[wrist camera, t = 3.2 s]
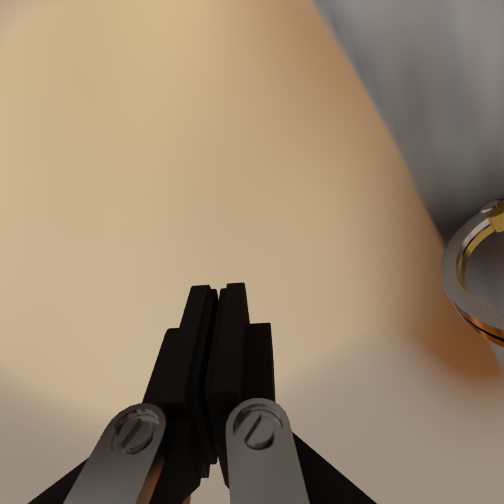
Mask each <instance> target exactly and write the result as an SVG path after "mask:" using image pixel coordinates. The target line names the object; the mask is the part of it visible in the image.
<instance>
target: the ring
mask: <svg viewBox="0 0 504 504" xmlns="http://www.w3.org/2000/svg"><path fill="white" fill-rule="evenodd" d="M479 211H480V213H478V214H477V215H475V216H474V217H473V218H471V219H470V220H469V221H467V222H466V223H465V224H464V225H463V226H462V227H461V228H460V229H459V230H458V231H457V232H456V233H455V234H454V236H453V237H452V238H451V240H450V241H449V243H448V245H447V247H446V249H445V251H444V254H443V257H442V262H441V279H442V283H443V286H444V289H445V290H446V293H447V294H448V296H449V298H450V300H451V302H452V303H453V305H454V306H455V308H456V309H457V311H458V312H459V314H460V315H461V317H462V318H463V319H464V320H465V322H466V323H467V324H468V325H469V326H470V327H471V328H473V329H474V330H475V331H476V332H477V333H479V334H480V335H481V336H483V337H484V338H486V339H488V340H489V341H491V342H493V343H495V344H497V345H499V346H501V347H503V348H504V314H501V313H498V312H496V311H494V310H491V309H489V308H487V307H486V306H484V305H482V304H480V303H479V302H477V301H476V300H475V299H473V298H472V297H471V295H470V294H469V293H468V290H467V287H466V284H465V267H466V263H467V260H468V258H469V256H470V254H471V253H472V251H473V250H474V249H475V247H476V246H477V245H478V244H479V243H480V242H481V241H482V240H483V239H484V238H485V237H487V236H488V235H489V234H491V233H492V232H502V231H504V200H502V201H500V200H494V201H491V202H489V203H487V204H485V205H484V206H482V207H481V208H480V209H479Z"/></svg>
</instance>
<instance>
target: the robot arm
mask: <svg viewBox="0 0 504 504" xmlns="http://www.w3.org/2000/svg"><path fill="white" fill-rule="evenodd" d="M218 458H219V462H220V466H221V470H222V474H223V478H224V482H225V485H226V486H227V487H228V488H229V490H230V504H377V503H375V502H374V501H373V500H372V499H371V498H370V497H368V496H367V495H366V494H365V493H364V492H363V491H361V490H360V489H359V488H358V487H357V486H355V485H354V484H353V483H352V482H351V481H350V480H348V479H347V478H346V477H345V476H344V475H342V474H341V473H340V472H339V471H338V470H337V469H335V468H334V467H333V466H332V465H331V464H329V463H328V462H327V461H326V460H325V459H324V458H322V457H321V456H320V455H319V454H318V453H316V452H315V451H314V450H313V449H312V448H310V447H309V446H308V445H307V444H306V443H305V442H303V441H302V440H301V439H300V438H299V437H298V436H296V435H295V434H294V433H293V432H292V430H291V427H290V422H289V419H288V417H287V414H286V412H285V411H284V410H283V409H282V408H281V406H280V405H279V404H277V403H275V383H274V363H273V347H272V336H271V324H270V323H255V324H250V321H249V313H248V305H247V297H246V290H245V283H230V284H227V287H226V288H224V289H221V290H220V296H219V300H218V294H217V290H216V289H211V287H210V285H199V286H192V287H191V290H190V293H189V296H188V300H187V303H186V307H185V310H184V313H183V317H182V320H181V323H180V327H179V328H170V329H168V330H167V331H166V334H165V336H164V340H163V343H162V345H161V348H160V351H159V355H158V357H157V360H156V363H155V366H154V369H153V372H152V375H151V378H150V381H149V384H148V387H147V390H146V393H145V395H144V398H143V402H142V403H139V404H136V405H132V406H129V407H128V408H126V409H125V410H122V411H121V412H119V413H118V414H117V415H116V416H115V417H114V418H113V419H112V420H111V421H110V423H109V424H108V425H107V427H106V428H105V430H104V432H103V434H102V435H101V437H100V439H99V441H98V443H97V444H96V446H95V448H94V450H93V451H92V453H91V455H90V457H89V458H88V459H86V460H85V461H84V462H82V463H81V464H80V465H79V466H77V467H76V468H74V469H73V470H72V471H70V472H69V473H68V474H66V475H65V476H64V477H63V478H61V479H60V480H58V481H57V482H56V483H55V484H53V485H52V486H51V487H49V488H48V489H46V490H45V491H44V492H42V493H41V494H40V495H39V496H37V497H36V498H35V499H33V500H32V501H31V502H29V503H28V504H190V500H191V493H192V492H193V491H195V490H196V489H197V488H198V487H199V486H200V481H201V478H208V477H209V470H210V464H216V463H217V459H218Z"/></svg>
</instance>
